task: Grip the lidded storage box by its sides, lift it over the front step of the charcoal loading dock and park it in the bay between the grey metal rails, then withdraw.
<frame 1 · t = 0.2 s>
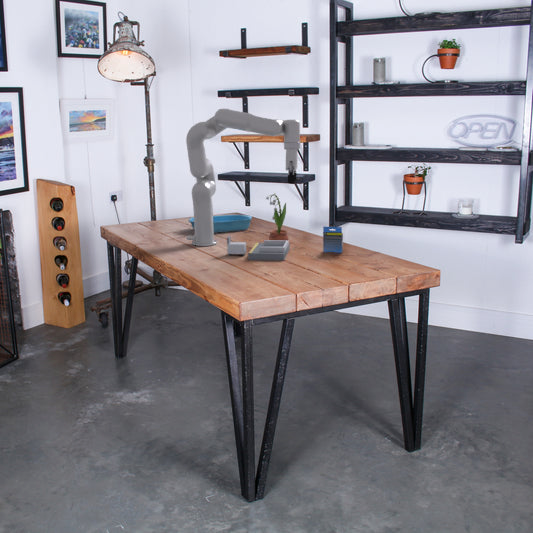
hand: (292, 182, 309), 31 cm above the table, tool pointing down, fingers open, 9 cm apart
potted flower: (277, 242, 324), on the table
label tape cartridge: (333, 252, 300), on the table
lidded storage box: (237, 254, 297), on the table
dock: (269, 254, 297), on the table
casserole dish: (220, 230, 362), on the table
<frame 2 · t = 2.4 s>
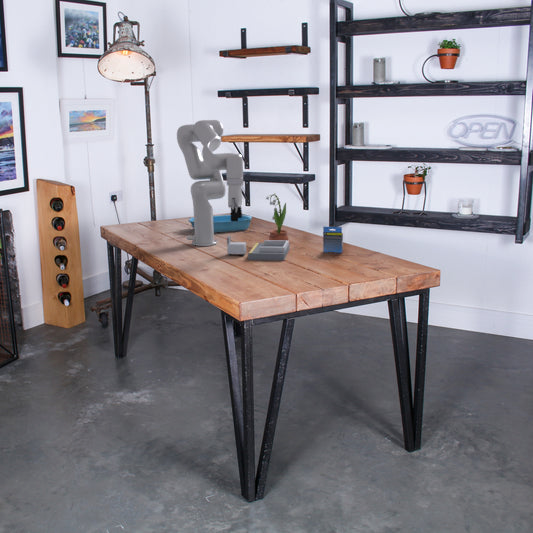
hand: (236, 219, 293), 17 cm above the table, tool pointing down, fingers open, 9 cm apart
nothing on the table moved.
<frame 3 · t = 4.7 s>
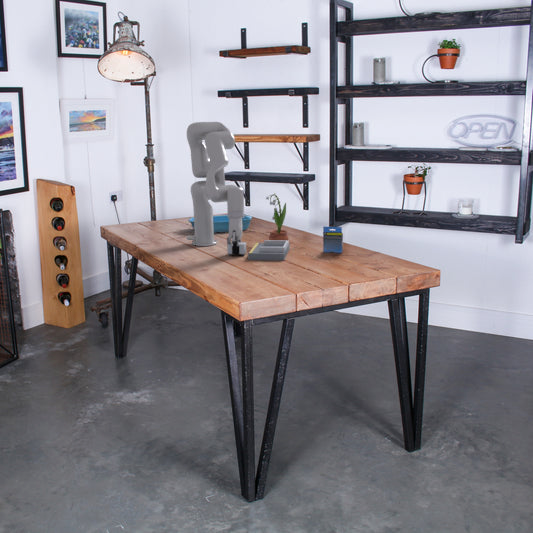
hand: (236, 252, 297), 1 cm above the table, tool pointing down, fingers closed on lidded storage box, 5 cm apart
lidded storage box: (237, 254, 297), on the table, touching gripper
everything else where it was.
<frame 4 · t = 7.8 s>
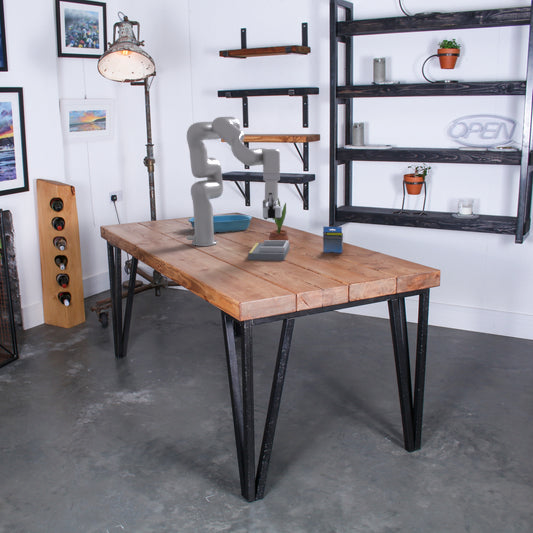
hand: (272, 216, 293), 18 cm above the table, tool pointing down, fingers closed on lidded storage box, 5 cm apart
lidded storage box: (272, 218, 293), point 17 cm above the table, touching gripper
everything else where it was.
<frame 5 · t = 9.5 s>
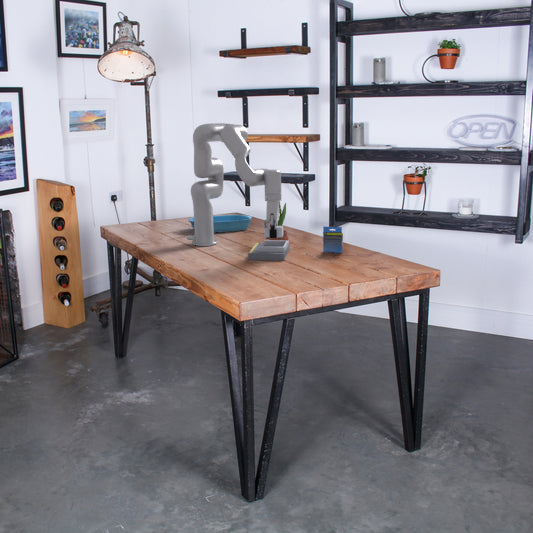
hand: (273, 236, 295), 8 cm above the table, tool pointing down, fingers closed on lidded storage box, 5 cm apart
lidded storage box: (274, 238, 295), point 7 cm above the table, touching gripper
everything else where it was.
when the fingers open (5 cm above the table, at t = 10.9 s): lidded storage box drops 1 cm, resting on dock.
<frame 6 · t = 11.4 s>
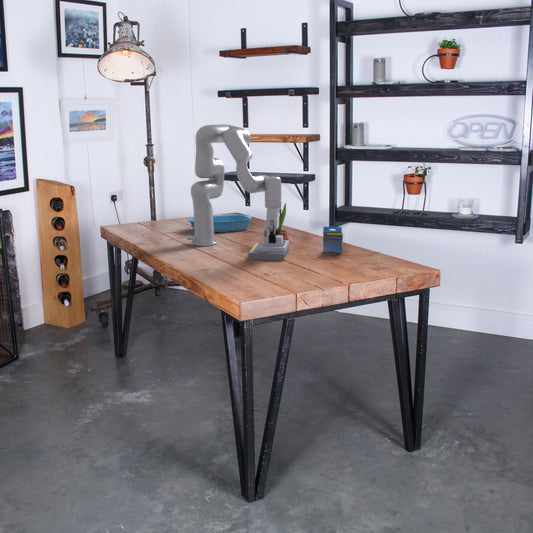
hand: (273, 241, 295), 6 cm above the table, tool pointing down, fingers open, 9 cm apart
lidded storage box: (273, 248, 296), point 3 cm above the table, touching dock
everything else where it was.
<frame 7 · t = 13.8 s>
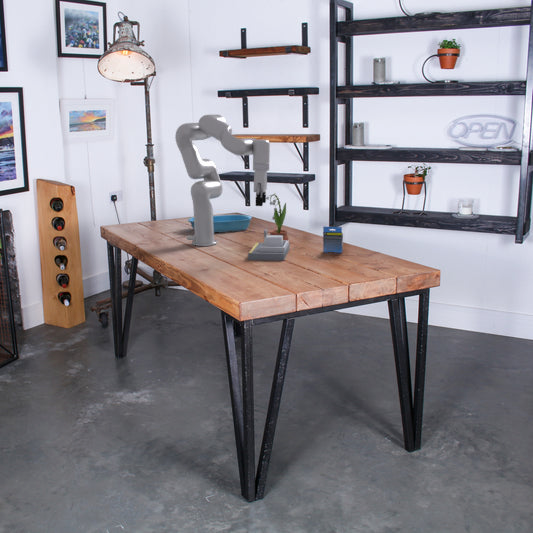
hand: (260, 204, 298), 23 cm above the table, tool pointing down, fingers open, 9 cm apart
nothing on the table moved.
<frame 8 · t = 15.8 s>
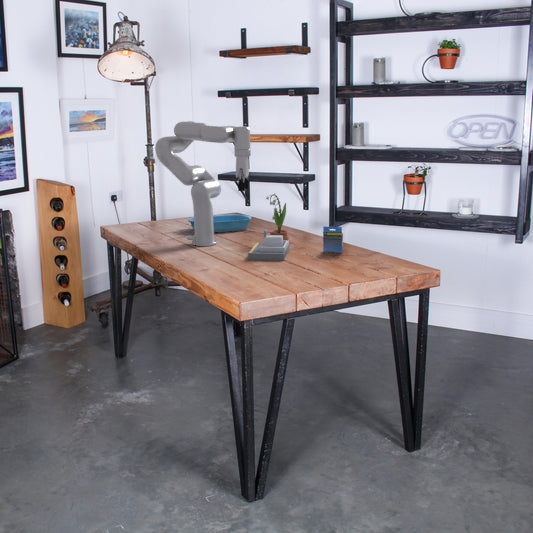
hand: (243, 189, 306), 28 cm above the table, tool pointing down, fingers open, 9 cm apart
nothing on the table moved.
at the end: lidded storage box inside the target area on the dock (0.4 cm from its centre), point 3.0 cm above the dock's base; lidded storage box tilted 0°; the gripper is holding nothing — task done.
